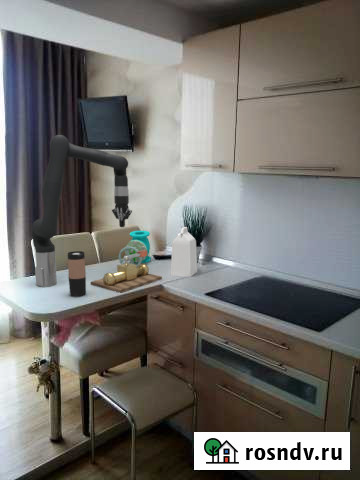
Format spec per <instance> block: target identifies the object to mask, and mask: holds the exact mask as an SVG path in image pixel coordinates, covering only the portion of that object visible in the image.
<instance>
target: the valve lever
mask: <svg viewBox="0 0 360 480" xmlns="http://www.w3.org/2000/svg"><path fill="white" fill-rule="evenodd" d="M144 256H147V250H142V251H137V253H136V254H132V255H128V256H126V255H123V259H126V260H127V259H130V258H134V257H144Z"/></svg>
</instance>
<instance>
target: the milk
mask: <svg viewBox="0 0 360 480" xmlns="http://www.w3.org/2000/svg"><path fill="white" fill-rule="evenodd" d="M170 264H171V265H170V275H171V276H177V277H178V276H179V277H187V278H191V277H192V276H194V275H195V274H196V273H198V261H197V240H196V238H195V237H194V236H193V235H192V234H191V233H190V232H189V231H188V227H187V226H185V227H182V228H181V230H180V232H179V233H178V234H177V235H176V237H175V238H174V240H172V242H171V263H170Z"/></svg>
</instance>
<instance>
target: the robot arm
mask: <svg viewBox="0 0 360 480" xmlns="http://www.w3.org/2000/svg"><path fill="white" fill-rule="evenodd" d="M49 141H50V142H49V159H48V164H47V166H46V169H45V174H44V178H43V182H42V189H41V196H42V201H43V207H44V209H43V215H42V216H43V217H42V218H38V219H36V220H35V221H34V222H33V223H32V225H31V226H32V227H31V234H32V235H31V236H32V244H33V247H34V249H35V262H36V266H35V267H34V272H35V273H34V274H35V285H36V286H38V287H42V288H46V287H52V286H55V285H57V284H58V280H57V279H58V278H57V276H58V275H57V265H56V262H57V261H56V260H57V258H56V246H55V244H54V243H53V242H52V240H51V239H52V238H53V237H54V236H55V235H56V234H57V230H58V220H59V219H58V218H59V217H58V216H59V207H60V203H61V196H62V191H63V185H64V178H65V177H64V175H65V174H64V173H65V163H66V158H67V157H69V158H74V159H79V160H83V161H85V162H90V163H93V164H96V165H100V166H105V167H109V168H113V174H114V180H113V181H114V182H113V183H114V191H113V193H114V194H113V195H114V204H115V205H114V208H112V209H111V213H112V214H113V215H114V217H115V219H116V220H119V221H118V223H119V224H118V225H119V227H120V228H124V227H125V226H126V220H128V219H129V217H130V216H131V214H132V213H133V210H131V209H130V206H129V202H130V201H129V200H130V199H129V183H128V182H129V179H128V176H127V168H128V166H129V160H128V159H127V158H126V157H124V156H121V155H117V154H113V153H109V152H106V151H103V150H100V149H96V148H92V147H91V148H90V147H83V146H78V145H76V144H73V143H71V142H70V141H69V139H68V138H67V137H66V136H65V135H63V134H57V135H54V136H52V138H51V139H50V140H49Z"/></svg>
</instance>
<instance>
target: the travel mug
mask: <svg viewBox="0 0 360 480" xmlns="http://www.w3.org/2000/svg"><path fill="white" fill-rule="evenodd" d="M85 257H86V256H85V252H84V251H80V250H78V251H76V250H73V251H69V252H68V253H67V269H68V286H69V295H70V297H73V298H80V297H81V298H82V297H85V296H86V294H87V284H86V283H87V281H86V279H87V276H86V273H87V272H86V260H85Z"/></svg>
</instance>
